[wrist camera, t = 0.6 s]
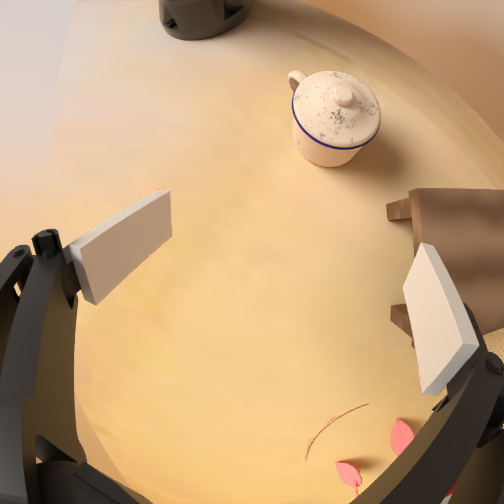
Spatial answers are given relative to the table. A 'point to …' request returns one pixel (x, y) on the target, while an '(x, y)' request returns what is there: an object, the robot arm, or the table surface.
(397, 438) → the figurine
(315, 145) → the teacup with lid
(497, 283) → the walnut footstool
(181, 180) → the table surface
